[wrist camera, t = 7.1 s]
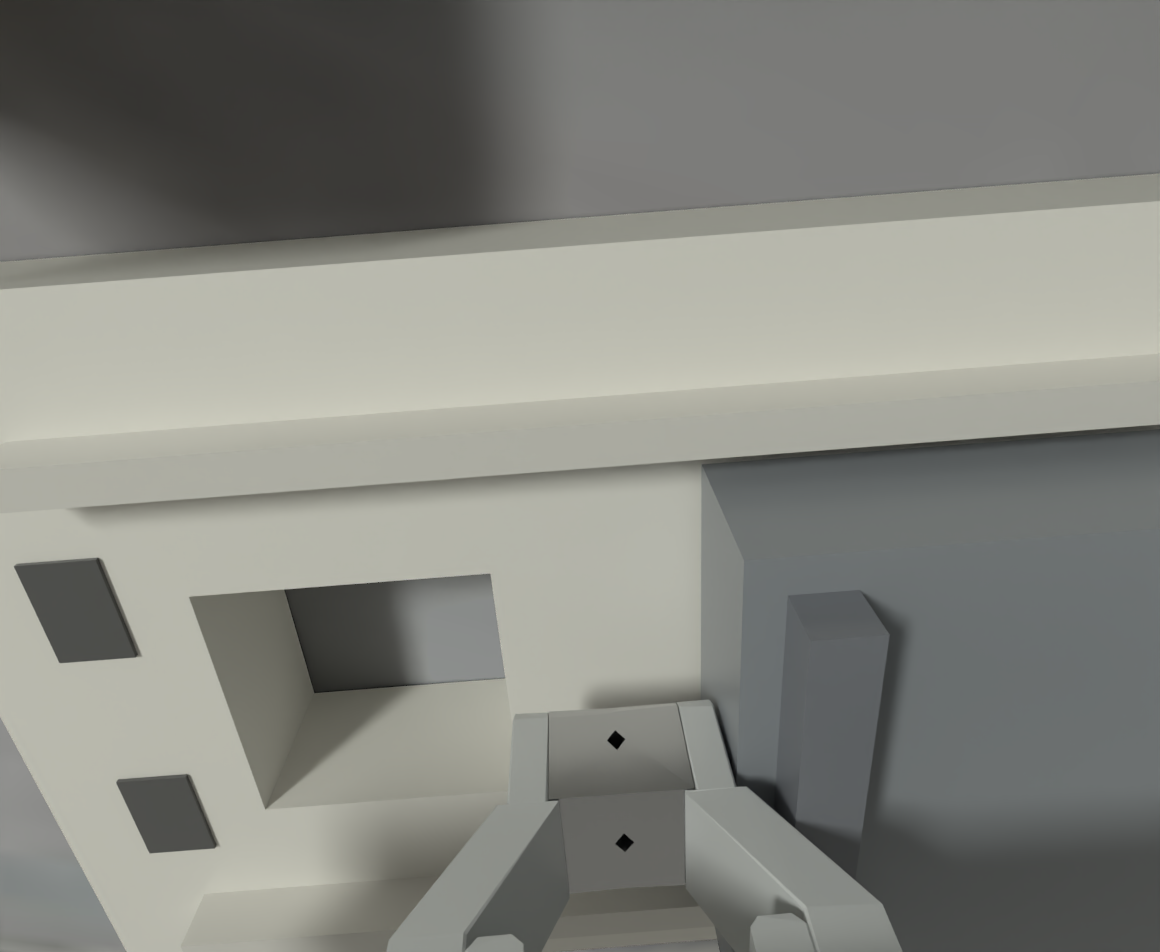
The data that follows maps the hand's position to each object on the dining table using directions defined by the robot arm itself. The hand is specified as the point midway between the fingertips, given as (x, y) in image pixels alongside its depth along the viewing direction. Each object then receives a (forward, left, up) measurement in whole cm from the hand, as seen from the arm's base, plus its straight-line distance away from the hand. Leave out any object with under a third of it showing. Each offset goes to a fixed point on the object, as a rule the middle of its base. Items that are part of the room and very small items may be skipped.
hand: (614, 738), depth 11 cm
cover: (-4, +3, -1) cm, 5 cm away
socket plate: (0, 0, -4) cm, 4 cm away
